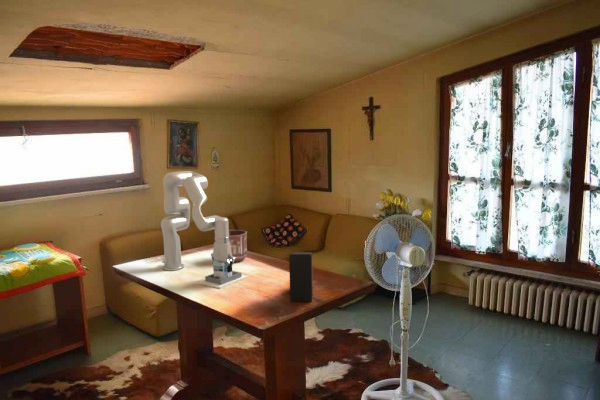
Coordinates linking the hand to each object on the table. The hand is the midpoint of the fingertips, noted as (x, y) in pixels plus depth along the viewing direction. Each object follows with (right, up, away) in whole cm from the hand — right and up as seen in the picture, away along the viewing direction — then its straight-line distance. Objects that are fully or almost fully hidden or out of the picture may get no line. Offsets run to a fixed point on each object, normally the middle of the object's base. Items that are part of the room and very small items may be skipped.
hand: (223, 270), depth 248 cm
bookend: (+43, -9, -21) cm, 49 cm away
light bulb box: (0, -5, +1) cm, 5 cm away
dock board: (0, -6, +1) cm, 6 cm away
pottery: (0, 0, +41) cm, 41 cm away
